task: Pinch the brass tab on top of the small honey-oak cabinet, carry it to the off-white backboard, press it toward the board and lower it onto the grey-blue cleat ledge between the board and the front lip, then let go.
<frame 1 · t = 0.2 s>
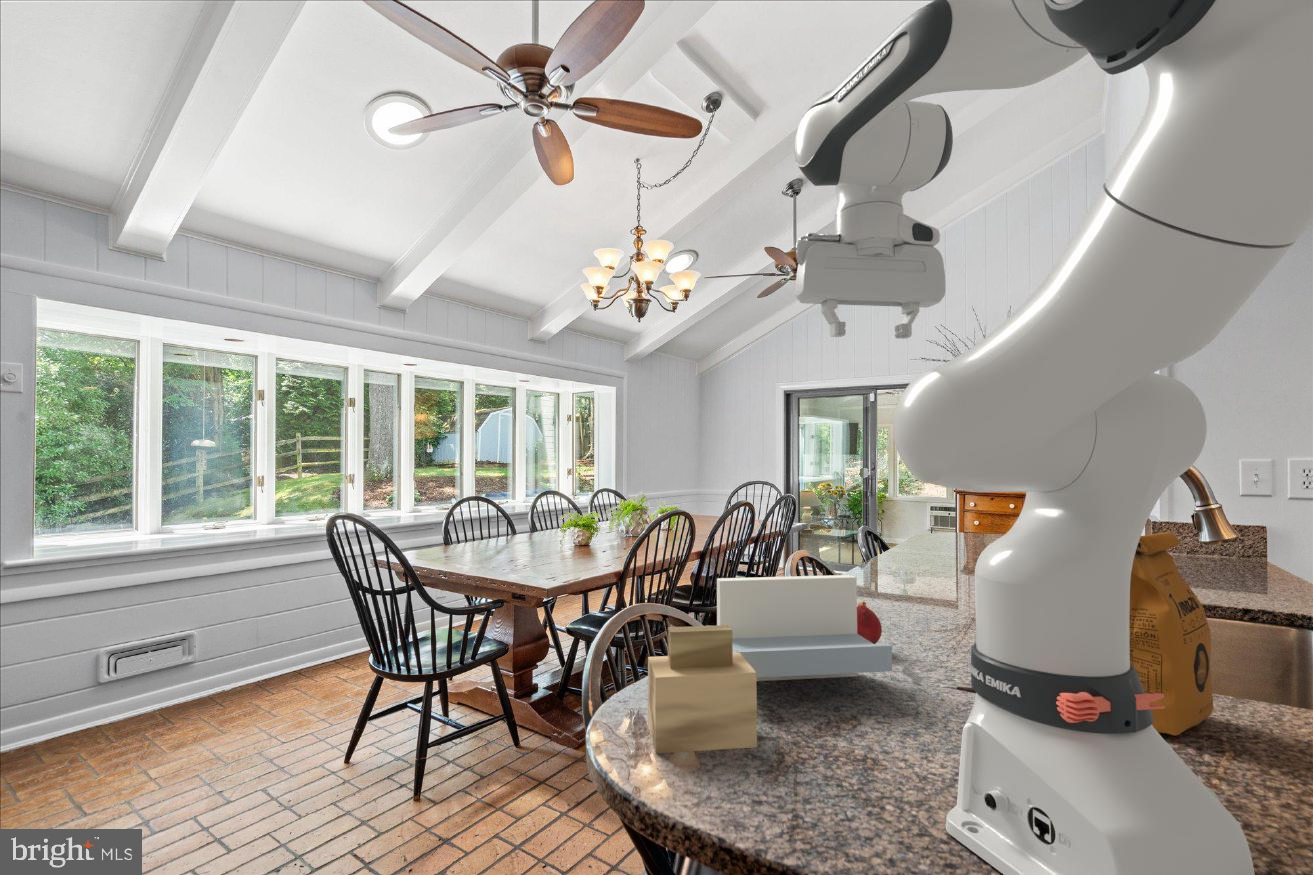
hand: (870, 337, 84), 47 cm above the kitchen island, fingers open, 8 cm apart
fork: (966, 694, 84), on the kitchen island
oak cabinet: (700, 736, 70), on the kitchen island
onion: (863, 652, 101), on the kitchen island
coffee package: (1155, 722, 74), on the kitchen island
wall board: (800, 689, 84), on the kitchen island
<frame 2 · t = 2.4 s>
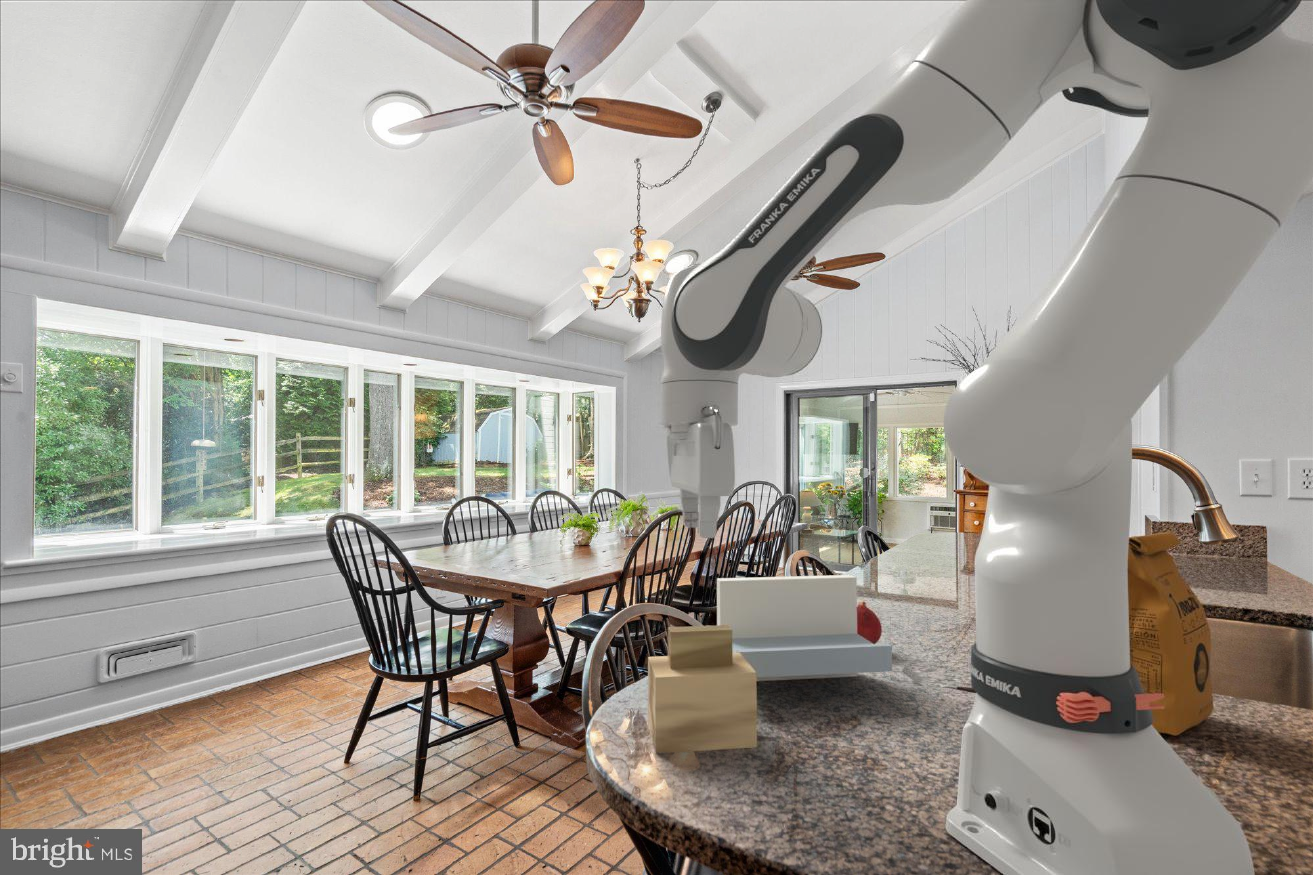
hand: (698, 531, 71), 23 cm above the kitchen island, fingers open, 8 cm apart
nothing on the kitchen island moved.
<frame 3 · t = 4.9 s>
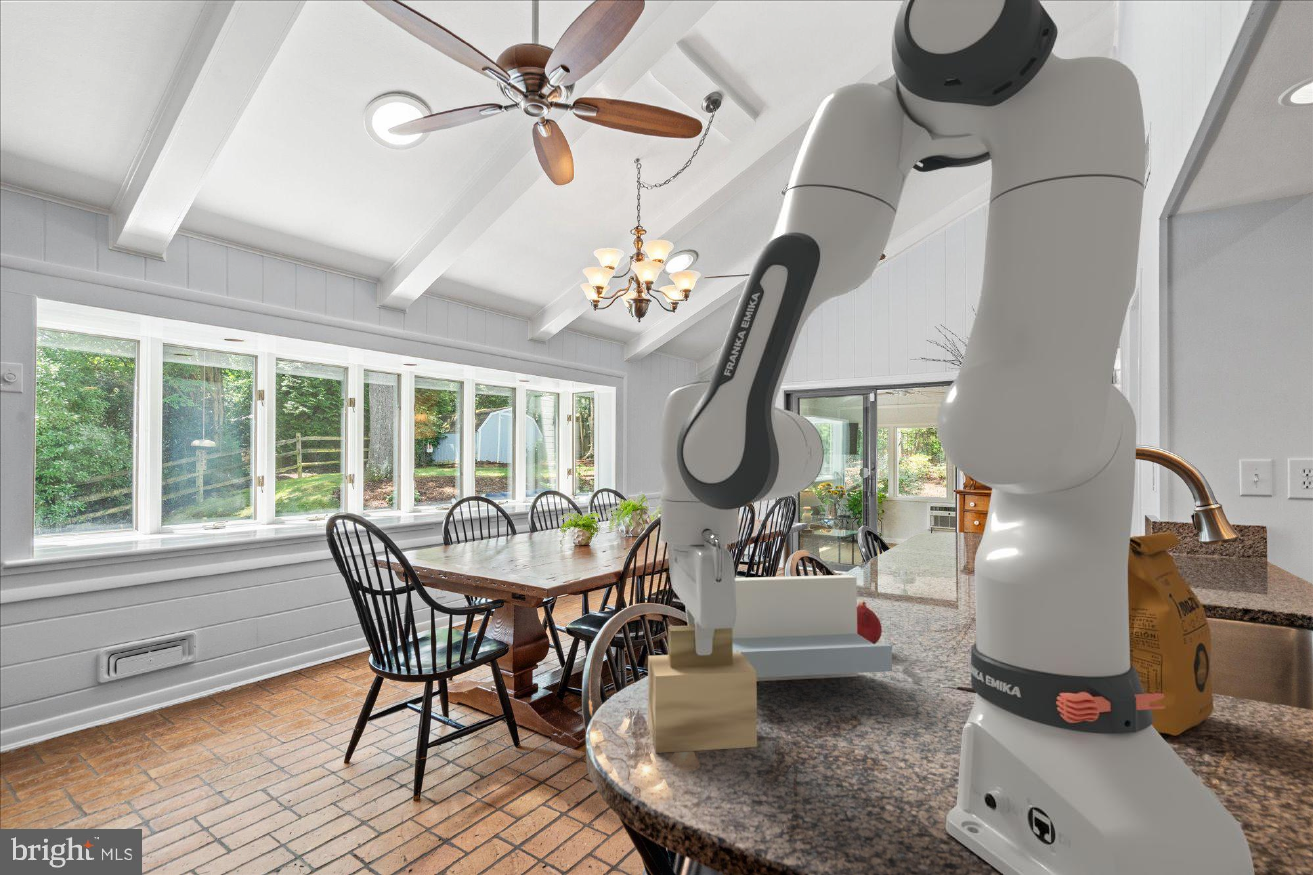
hand: (700, 648, 70), 10 cm above the kitchen island, fingers closed on oak cabinet
oak cabinet: (700, 735, 70), on the kitchen island, touching gripper
everything else where it was.
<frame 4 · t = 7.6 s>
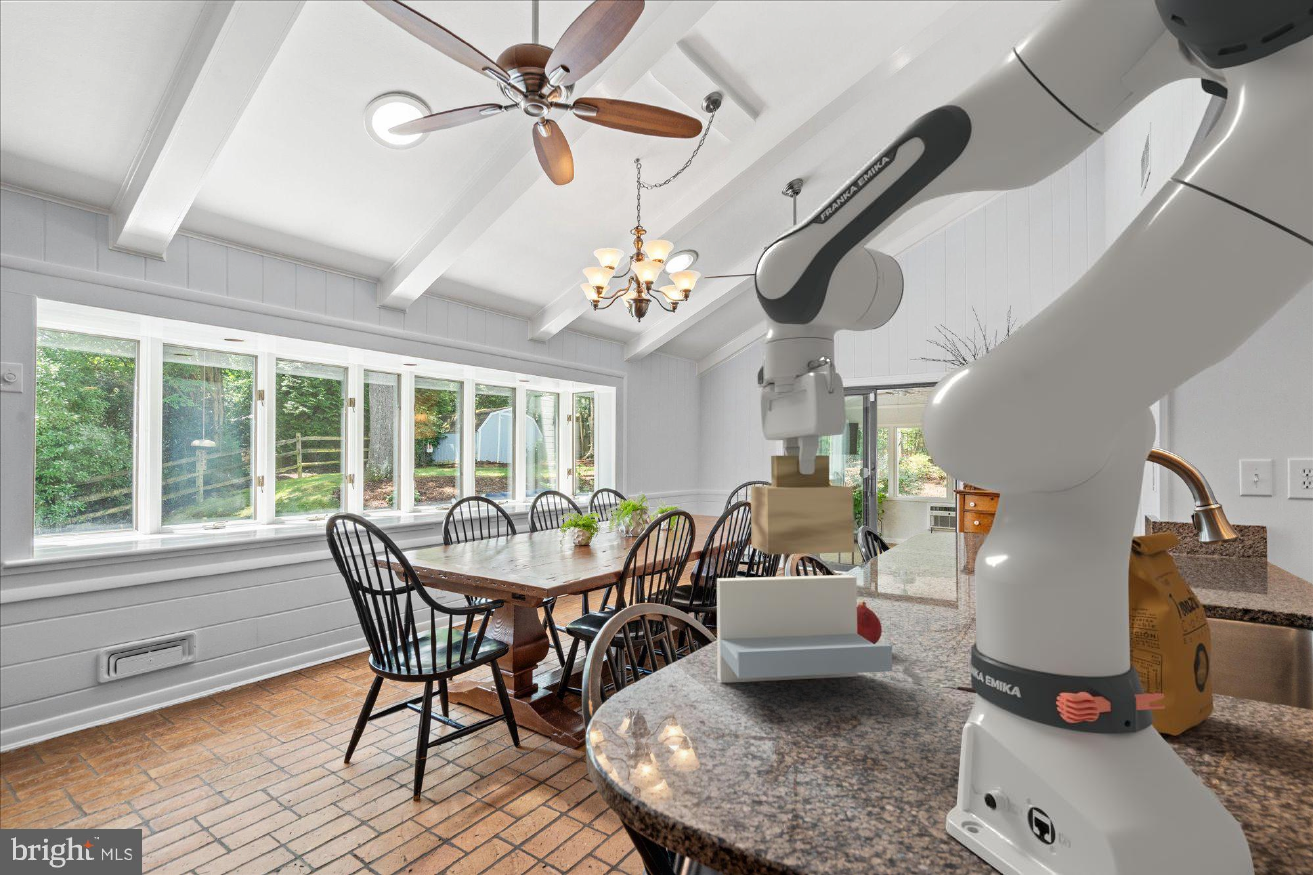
hand: (800, 473, 80), 29 cm above the kitchen island, fingers closed on oak cabinet
oak cabinet: (801, 549, 80), point 19 cm above the kitchen island, touching gripper
everything else where it was.
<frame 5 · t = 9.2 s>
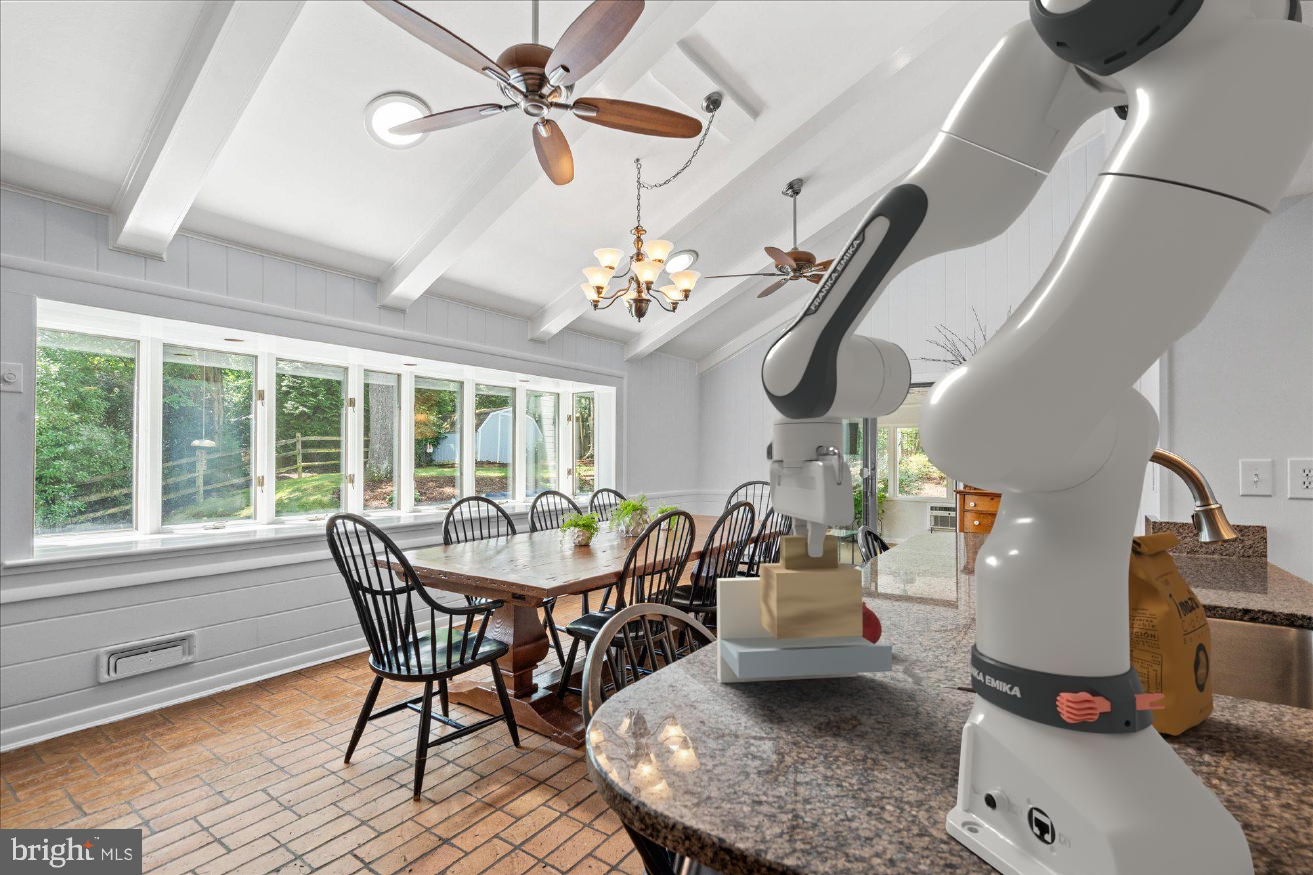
hand: (809, 554, 81), 19 cm above the kitchen island, fingers closed on oak cabinet
oak cabinet: (809, 629, 80), point 9 cm above the kitchen island, touching gripper
everything else where it was.
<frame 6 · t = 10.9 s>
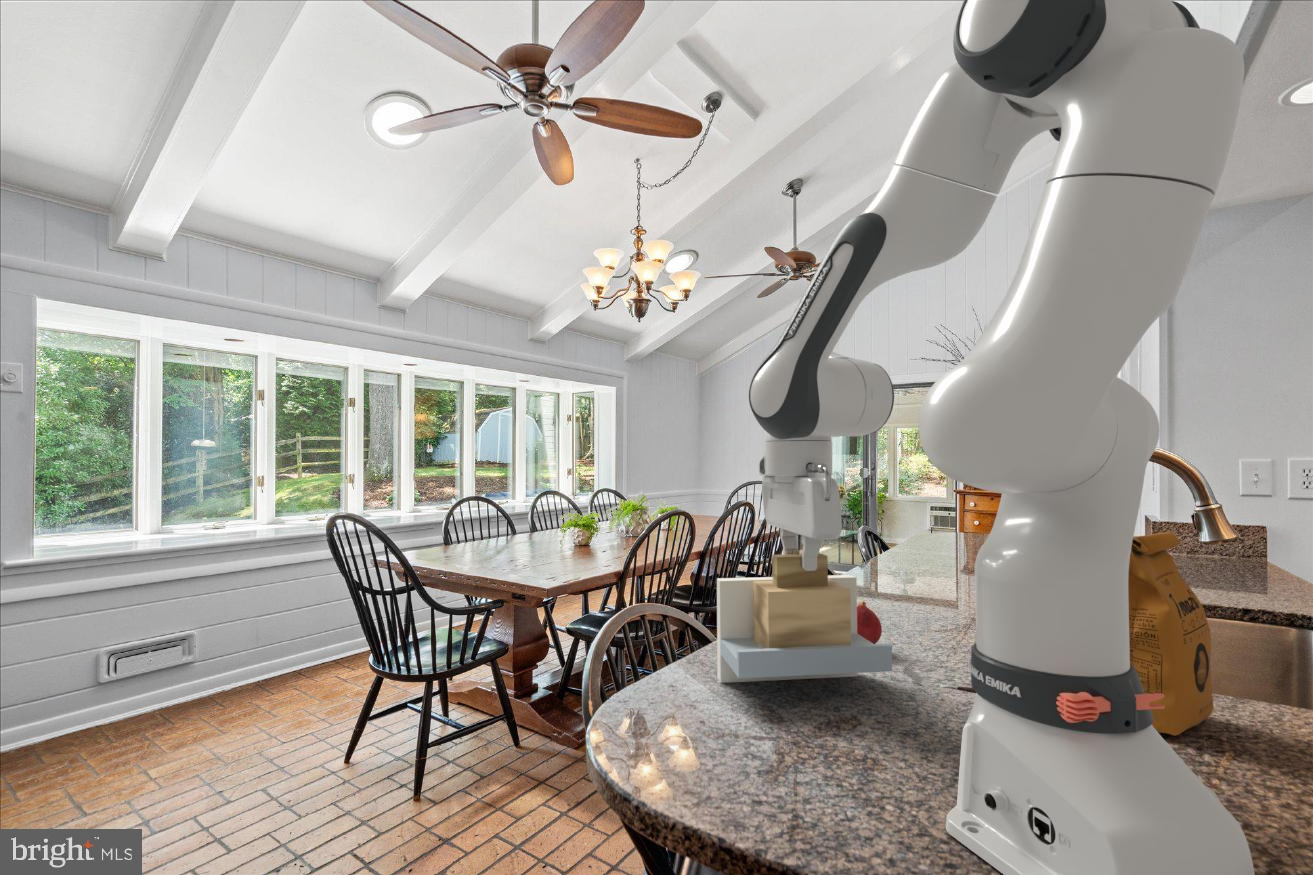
hand: (799, 565, 84), 17 cm above the kitchen island, fingers open, 5 cm apart
oak cabinet: (800, 645, 84), point 6 cm above the kitchen island, touching wall board
everything else where it was.
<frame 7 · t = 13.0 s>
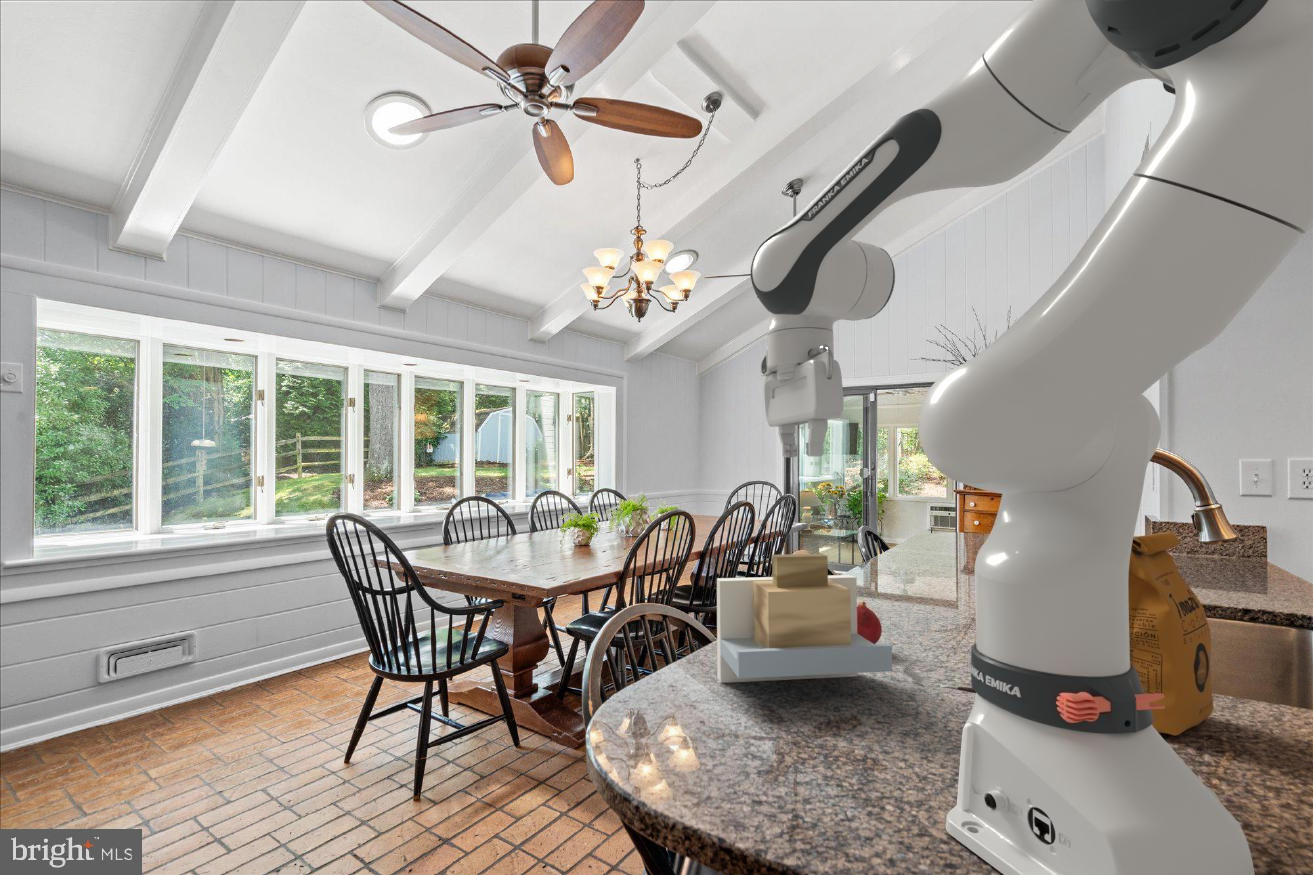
hand: (801, 456, 85), 31 cm above the kitchen island, fingers open, 8 cm apart
nothing on the kitchen island moved.
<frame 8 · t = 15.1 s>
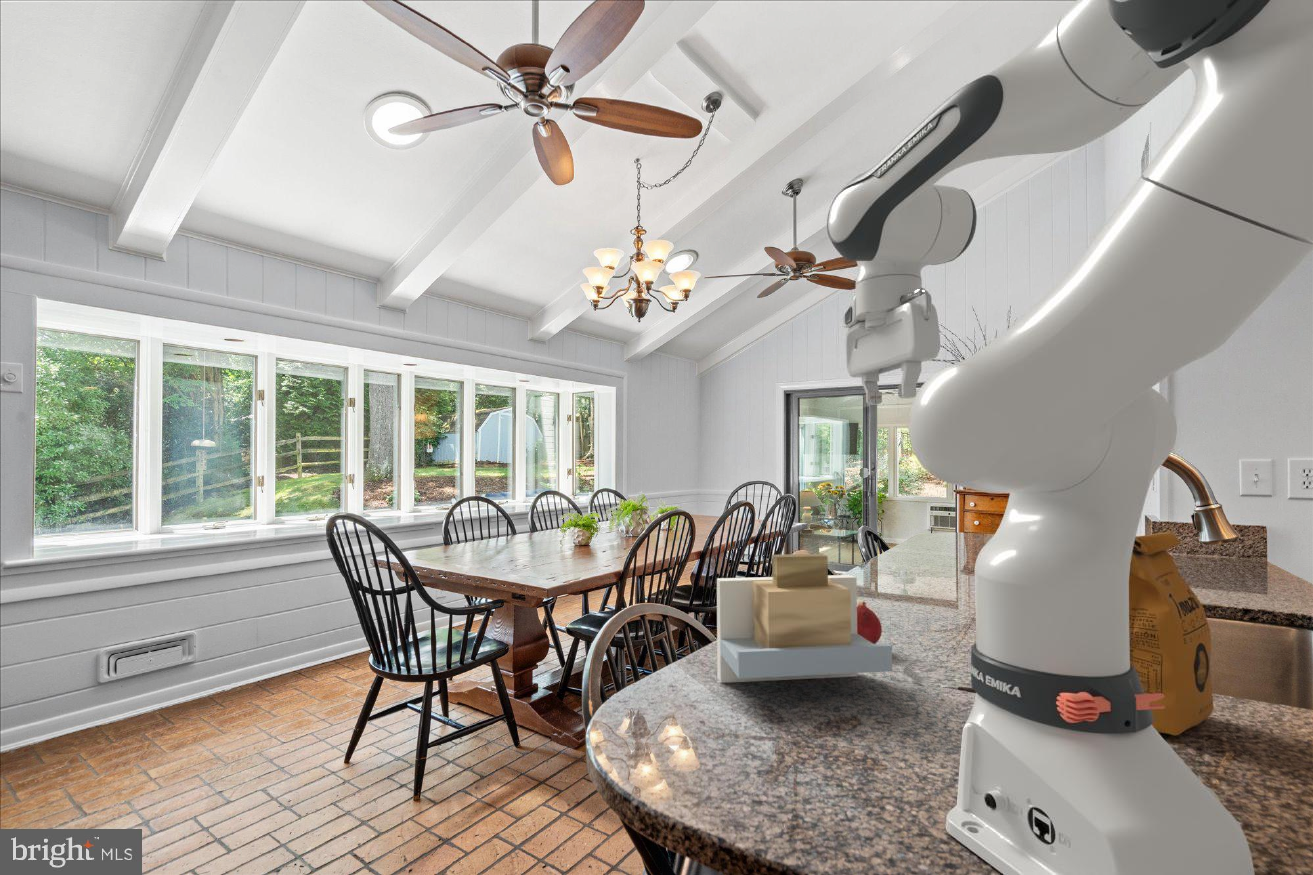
hand: (889, 401, 88), 39 cm above the kitchen island, fingers open, 8 cm apart
nothing on the kitchen island moved.
at the end: oak cabinet inside the target area on the wall board (0.1 cm from its centre), point 6.0 cm above the wall board's base; oak cabinet tilted 0°; the gripper is holding nothing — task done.
